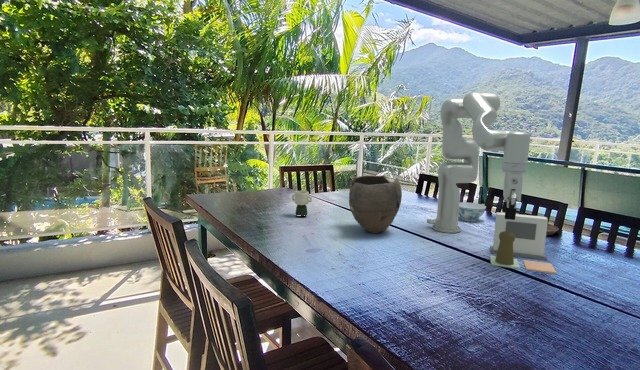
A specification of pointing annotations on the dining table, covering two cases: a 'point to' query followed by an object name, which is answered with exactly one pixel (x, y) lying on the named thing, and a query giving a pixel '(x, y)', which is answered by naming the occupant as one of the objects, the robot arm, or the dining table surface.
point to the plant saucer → (551, 229)
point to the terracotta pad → (539, 266)
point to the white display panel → (522, 235)
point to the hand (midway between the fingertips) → (508, 215)
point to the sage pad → (515, 265)
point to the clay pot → (374, 202)
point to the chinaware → (471, 211)
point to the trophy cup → (301, 202)
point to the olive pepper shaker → (505, 248)
